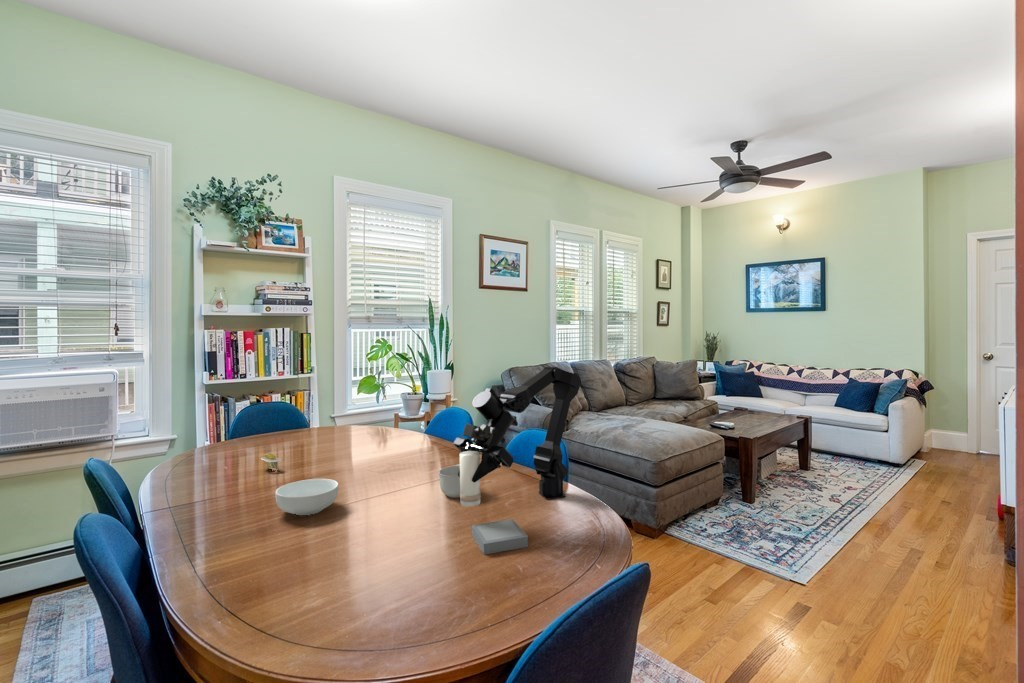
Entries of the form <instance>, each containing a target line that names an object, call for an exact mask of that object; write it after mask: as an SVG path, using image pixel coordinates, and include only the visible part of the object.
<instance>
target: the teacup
mask: <svg viewBox="0 0 1024 683" xmlns="http://www.w3.org/2000/svg"><path fill="white" fill-rule="evenodd" d="M459 468H460V463H457V464H456V465H455V464H454V465H449V466H445V467H442V468H441V469H439V470H438V473H437V474H438V476H439V477H438V478H439V479H438V480H439V487H440V490H441V492H442V494H444V495H446V497H448V498H453V499H455V498H457V499H458V498H460V477H458V472H459Z"/></svg>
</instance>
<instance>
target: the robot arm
mask: <svg viewBox="0 0 1024 683" xmlns="http://www.w3.org/2000/svg"><path fill="white" fill-rule="evenodd" d="M551 384H552V390H553V393H554V402H553V406H552V409H551V413H550V417H549V422H548V426H547V430H546V433H545V437H544V441H543V442H542V444H541V445H536V447H535V451H534V454H533V457H532V459H533V466H534V467H535V468H534V469H535V472H536V475H539V476H540V480H539V484H538V485H539V487H538V488H539V491H538V494H540V495H541V496H542V497H543V498H544V499H545V500H552V499H560V498H566V494H565V493H564V480H565V478H567V477H568V473H569V469H568V468H567V467H566V466H565V465H564V463H563V458H564V457H563V456H564V455H563V451H562V448H561V443H562V440H563V436H564V435H563V434H564V431H565V426H566V423H567V417H568V414H569V410H570V405H571V402H572V401H573V400H574V399H575V398H576V396H577V395H578V393H579V390H580V388H581V384H582V380H581V377H580V375H579V374H578V373H577V372H570V371H566V370H565V369H562V368H559V367H557V366H550V365H549V366H548V365H547V366H544V367H543V368H542V370H541V371H539V372H538V373H536V374H535V375H534V376H532V377H531V378H529V379H528V380H527V381H525V382H524V383H523V384H521V385H519V386H516V387H511V388H509V389H507V390H505V391H503V392H502V393H501V394H500V395H497V393H496V392H495V390H494V389H493V387H492V388H491V387H486V389H484V390H483V391H481V392H479V393H478V394H477V395H475V396H474V397H473V399H472V406H473V407H474V408H475V410H476V411H478V412H479V414H480V415H481V416H482V417H483V419H485V420H488V422H487V424H482V423H481V425H480V426H479V425H478V426H477V425H475V424H474V425H473V424H470V423H469V424H468V423H465V426H464V428H463V433H462V436H459V437H456V438H455V439H454V441H453V443H452V444H453V445H454V446H455V447H456V449H458V450H459V451H460V453H461V452H465V451H477V452H479V454H480V455H481V460H480V464H479V466H478V468H477V470H476V472H475V474H474V476H473V478H472V481H473V482H474V483H475V482H476V481H478V480H479V479H480V480H481V479H482V478H484V477H486V475H489V473H491V472H494V471H496V469H500V468H502V467H505V468H508V469H511V467H512V465H513V463H514V456H513V455H512V454H511V453H510V452H509V450H508V449H507V448H506V447H503V446H500V444H504V443H505V442H506V438H505V436H506V435H507V432H508V431H509V429H510V428H511V426H514V427H518V425H519V423H518V420H517V415H512V413H517V414H521V413H524V411H525V410H526V409H527V408H528V407H529V406H530V405H531V402H532V399H533V398H534V397H536V396H537V395H538V394H539V393H540V392H542V391H543V390H544V389H545V388H547V387H548V386H549V385H551ZM463 436H464V437H463ZM466 437H468V438H466ZM469 438H471V440H470V439H469ZM474 443H475V444H474ZM458 477H460V468H459V472H458Z"/></svg>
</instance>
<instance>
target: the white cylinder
mask: <svg viewBox="0 0 1024 683" xmlns="http://www.w3.org/2000/svg"><path fill="white" fill-rule="evenodd" d="M458 455H459V464H460V497H459V500H460V502H459V503H460V506H463V507H467V508H470V507H477V506H479V505H480V504H481V479H479V480H478V481H476V482H475V483H474V482H473V481H472V478H473V476H474V474H475V472H476V470H477V468H478V466H479V464H480V463H481V460H480V456H481V454H479V452H477V451H465V452H461V451H460V453H459V454H458Z"/></svg>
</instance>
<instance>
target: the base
mask: <svg viewBox="0 0 1024 683" xmlns="http://www.w3.org/2000/svg"><path fill="white" fill-rule="evenodd" d="M471 536H472V537H473V539H474V541H475V543H476V545H477V546H478V547H479V549H480V551H481V553H482V554H483V555H489V554H495V553H501V552H504V551H505V552H507V551H512V550H516V549H523V548H528V547H529V536H528V534H526V532H525V531H524V530H523V529H522V528H521V527H520V526H519V524H518V523H517V522H516V521H515V519H513V518H510V519H503V520H498V521H496V520H495V521H490V522H483V523H477V524H476V523H475V524H472V525H471Z"/></svg>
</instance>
